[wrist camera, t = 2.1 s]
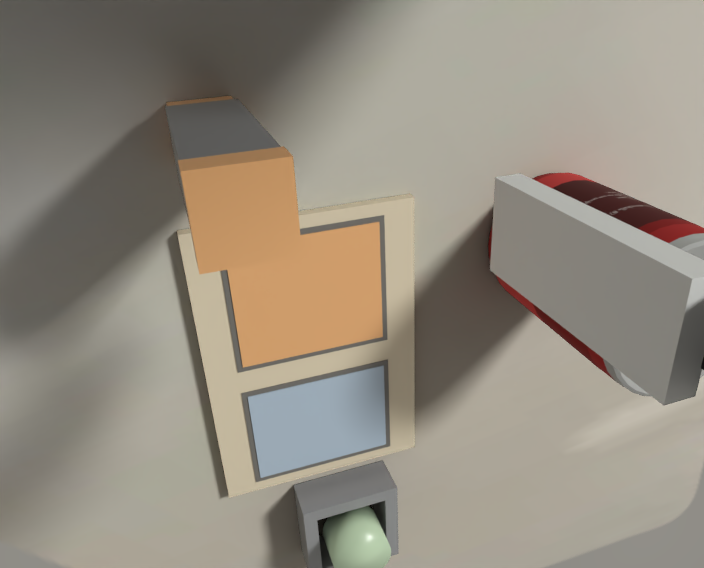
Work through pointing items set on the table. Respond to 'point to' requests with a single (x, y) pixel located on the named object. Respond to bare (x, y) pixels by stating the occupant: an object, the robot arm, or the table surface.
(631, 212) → the canned food
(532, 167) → the table surface
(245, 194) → the marker
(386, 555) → the button
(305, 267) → the sheet
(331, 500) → the button collar
